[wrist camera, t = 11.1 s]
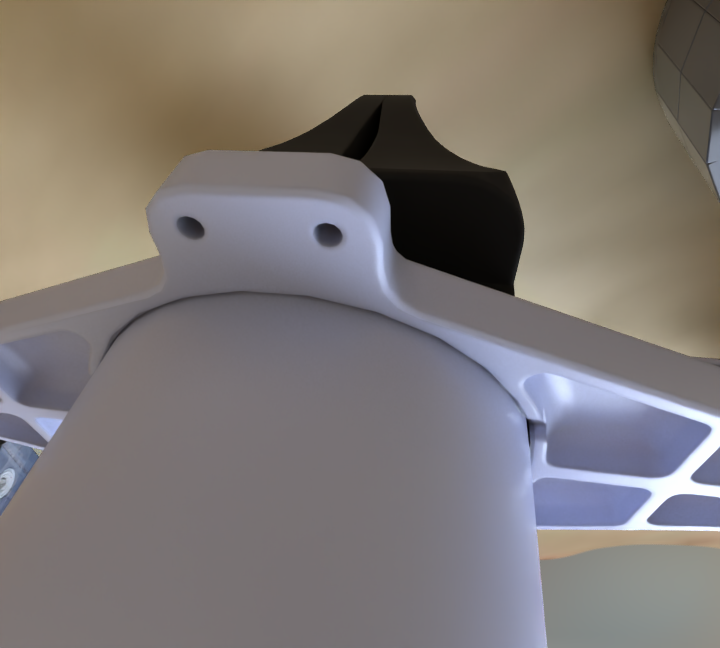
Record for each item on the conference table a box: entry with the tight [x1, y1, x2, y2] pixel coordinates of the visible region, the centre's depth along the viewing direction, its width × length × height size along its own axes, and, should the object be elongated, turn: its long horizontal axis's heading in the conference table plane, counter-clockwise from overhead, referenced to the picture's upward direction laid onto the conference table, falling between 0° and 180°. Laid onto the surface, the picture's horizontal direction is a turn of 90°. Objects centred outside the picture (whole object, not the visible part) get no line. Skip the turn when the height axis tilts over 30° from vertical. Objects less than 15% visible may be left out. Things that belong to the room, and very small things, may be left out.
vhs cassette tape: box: [0, 439, 39, 516], centre depth 56 cm, size 18×3×10 cm, turn 170°
